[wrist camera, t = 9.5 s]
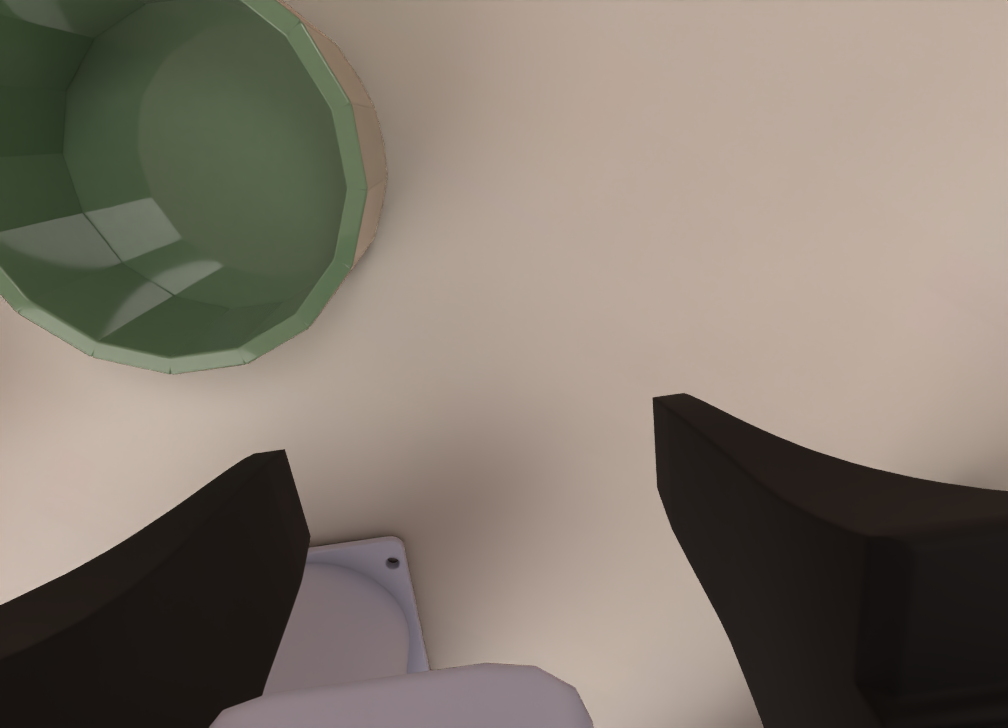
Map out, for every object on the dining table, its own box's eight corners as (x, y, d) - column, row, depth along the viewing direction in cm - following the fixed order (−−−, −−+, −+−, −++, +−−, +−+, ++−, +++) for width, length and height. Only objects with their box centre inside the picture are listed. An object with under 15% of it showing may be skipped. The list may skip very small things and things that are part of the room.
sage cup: (410, 294, 22) (397, 344, 17) (119, 334, 22) (17, 396, 17) (352, -37, 19) (313, -98, 14) (7, 6, 19) (-163, -40, 13)
